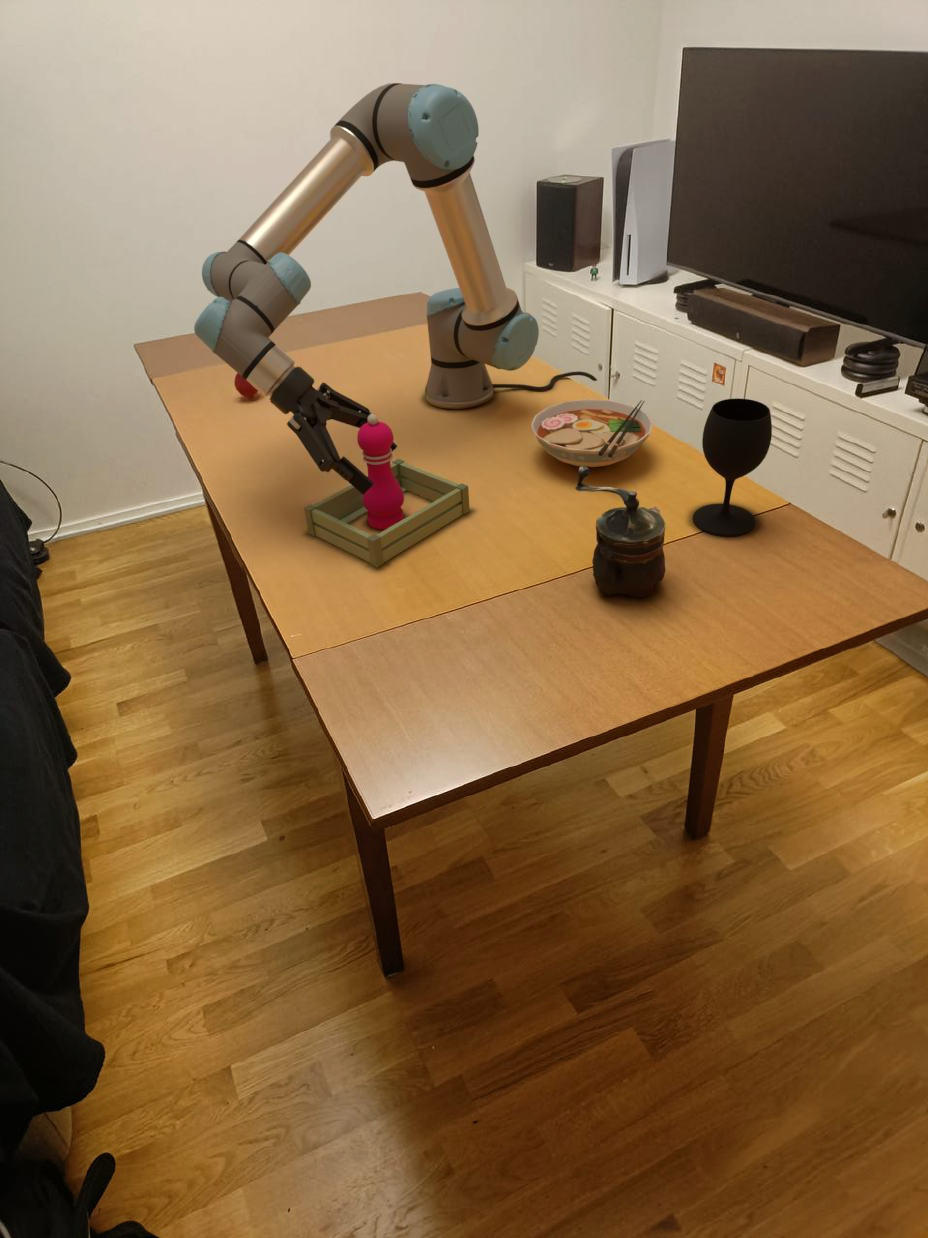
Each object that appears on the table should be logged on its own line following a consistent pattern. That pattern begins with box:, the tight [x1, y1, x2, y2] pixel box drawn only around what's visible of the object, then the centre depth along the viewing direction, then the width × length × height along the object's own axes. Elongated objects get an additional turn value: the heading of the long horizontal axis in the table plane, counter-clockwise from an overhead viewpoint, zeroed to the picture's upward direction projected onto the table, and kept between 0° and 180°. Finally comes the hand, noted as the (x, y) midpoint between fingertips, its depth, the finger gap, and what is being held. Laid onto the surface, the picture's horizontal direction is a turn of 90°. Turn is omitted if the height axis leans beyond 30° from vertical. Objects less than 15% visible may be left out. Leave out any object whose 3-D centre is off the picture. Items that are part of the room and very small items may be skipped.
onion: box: [233, 372, 259, 400], centre depth 195 cm, size 6×6×8 cm
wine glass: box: [692, 398, 773, 538], centre depth 137 cm, size 10×10×20 cm
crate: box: [303, 458, 471, 569], centre depth 147 cm, size 23×18×5 cm
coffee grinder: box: [574, 466, 666, 599], centre depth 125 cm, size 13×15×18 cm
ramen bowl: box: [530, 398, 653, 468], centre depth 161 cm, size 25×23×8 cm
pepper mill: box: [356, 413, 405, 530], centre depth 143 cm, size 7×7×20 cm
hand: (381, 469), depth 143 cm, fingers open, 13 cm apart
